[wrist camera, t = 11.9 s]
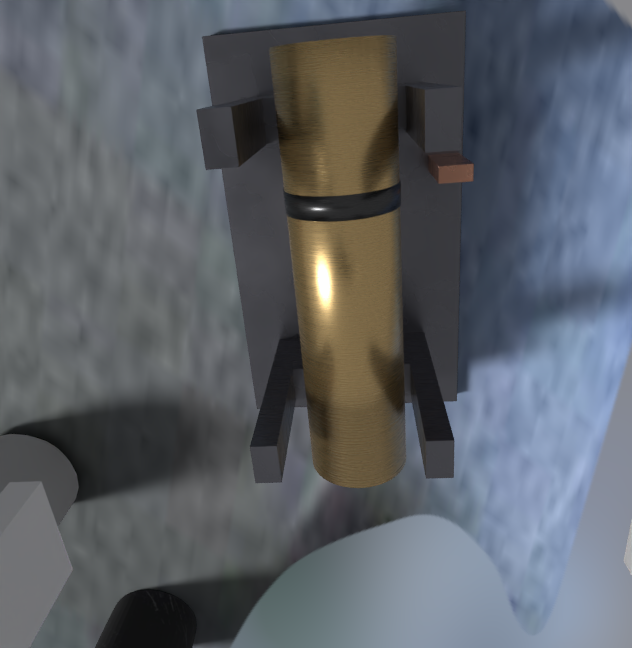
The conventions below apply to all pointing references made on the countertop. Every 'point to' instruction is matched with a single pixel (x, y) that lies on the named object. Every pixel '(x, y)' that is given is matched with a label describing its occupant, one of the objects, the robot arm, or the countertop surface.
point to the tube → (346, 248)
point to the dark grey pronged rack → (415, 214)
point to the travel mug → (149, 622)
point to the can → (39, 470)
